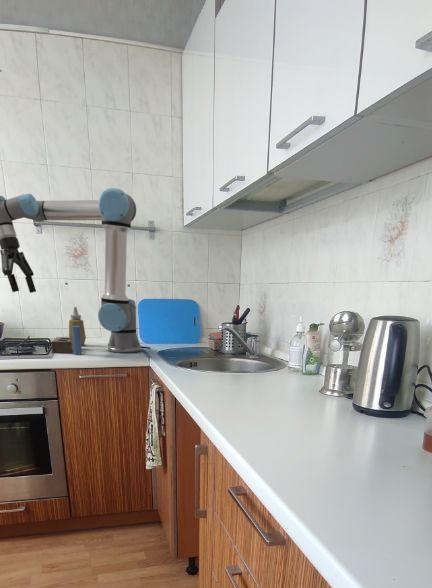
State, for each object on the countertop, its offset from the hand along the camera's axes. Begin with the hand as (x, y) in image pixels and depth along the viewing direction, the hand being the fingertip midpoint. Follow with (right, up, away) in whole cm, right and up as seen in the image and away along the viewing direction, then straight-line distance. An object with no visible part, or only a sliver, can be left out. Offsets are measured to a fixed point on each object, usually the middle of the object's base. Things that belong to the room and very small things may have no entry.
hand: (24, 291), depth 199 cm
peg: (+20, -25, +8) cm, 33 cm away
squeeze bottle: (+13, -15, +32) cm, 38 cm away
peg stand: (+12, -21, +16) cm, 29 cm away
